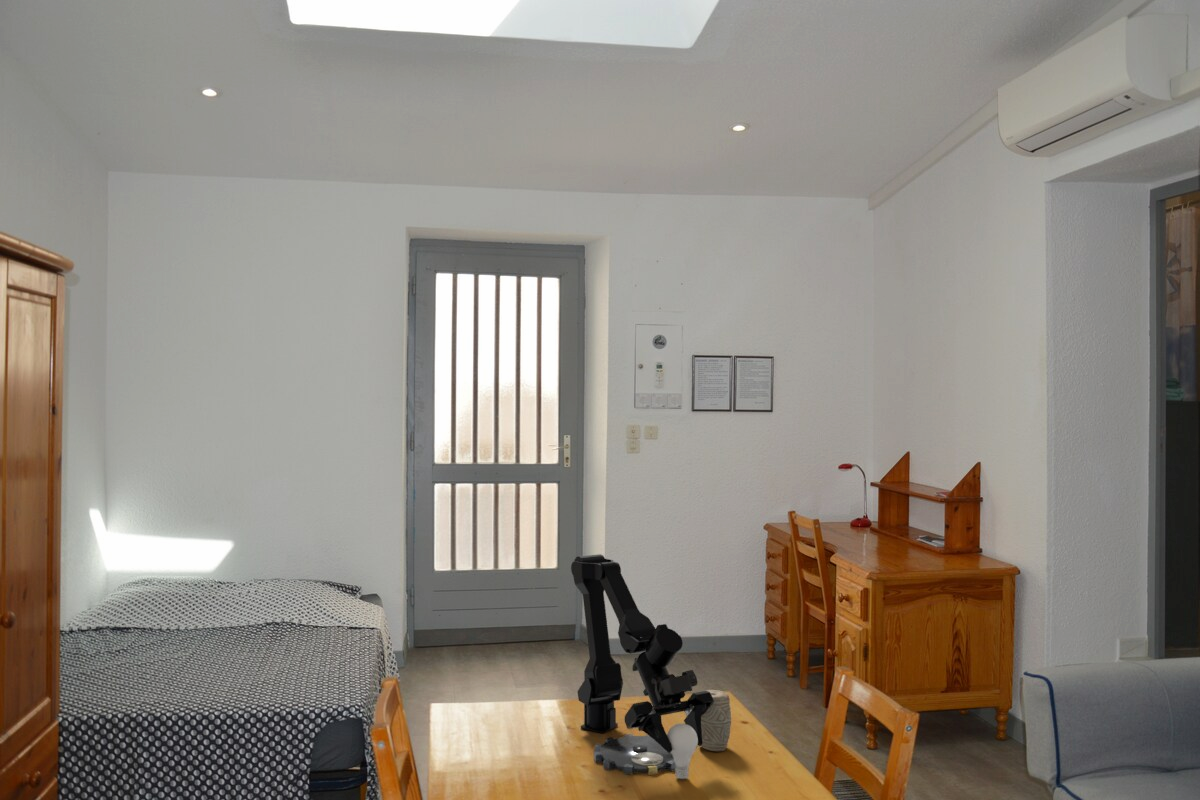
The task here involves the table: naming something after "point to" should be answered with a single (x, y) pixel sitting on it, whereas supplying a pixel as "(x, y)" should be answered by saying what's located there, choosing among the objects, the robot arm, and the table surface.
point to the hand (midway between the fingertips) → (685, 748)
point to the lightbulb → (682, 747)
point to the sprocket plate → (633, 755)
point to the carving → (716, 722)
